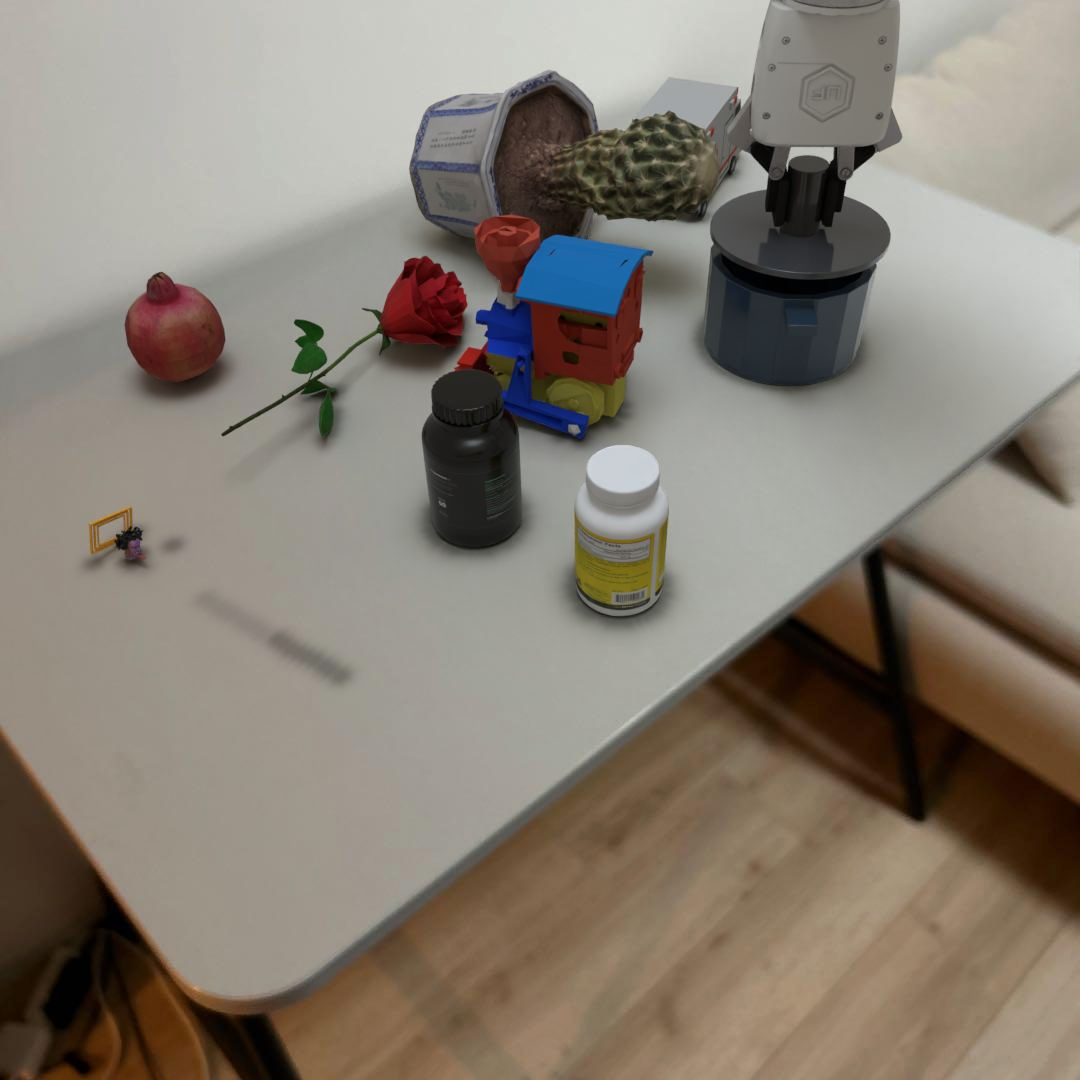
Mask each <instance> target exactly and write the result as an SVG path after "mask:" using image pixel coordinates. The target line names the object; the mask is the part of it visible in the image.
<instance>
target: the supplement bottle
mask: <svg viewBox="0 0 1080 1080" xmlns="http://www.w3.org/2000/svg"><path fill="white" fill-rule="evenodd" d="M430 390H431V391H430V394H431V395H430V396H431V397H430V399H431V413H430V414H429V415H428V416H427V418H426V420H425V422H424V424H423V426H422V429H421V446H422V447H421V448H422V454H423V462H424V470H425V479H426V487H427V494H428V501H429V509H430V517H431V520H432V524H433V527H434V528H435V530H436V532H437V533H438V534H439V535H440V536H441V537H442V538H444V539H445V540H447V541H449V542H450V543H453V544H455V545H457V546H462V547H467V548H483V547H488V546H492V545H495V544H498V543H500V542H502V541H504V540H505V539H507V538H509V537H510V536H511V535H513V534H514V532H515V531H516V530H517V528H518V527H519V526H520V523H521V522H522V517H523V491H522V490H523V489H522V488H523V487H522V471H521V470H522V469H521V451H520V450H521V448H520V447H521V444H520V431H519V425H518V422H517V420H516V418H515V417H514V414H513V413H510V412H509V411H508V410H507V409H506V408H505V407H504V400H503V397H502V387H501V384H500V381H499V380H497V378H496V377H494V376H493V374H489V373H488V372H484V371H482V370H477V369H461V370H455V369H454V370H452V371H449V372H447V373H444V374H443V375H442V376H440V377H438V379H437V380H435V381H434V384H432V388H431V389H430Z"/></svg>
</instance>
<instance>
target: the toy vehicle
mask: <svg viewBox="0 0 1080 1080" xmlns="http://www.w3.org/2000/svg"><path fill="white" fill-rule="evenodd" d="M738 95H739V86H733V85H727V84H720V83H713V82H705V81H699V80H692V79H685V78H678V77H672V76H668V78H667V79H666V80H665V81H664V82H663V84H662V85H660V87H659V88H658V89H657V90H656V91H655V92H654V93H653V95H652V96H651V97H650V98H649V99H648V100H647V102H646V103H645V104H644V105H643V106H642V107H641V108H640V110H639V111H638V112H637V113H636V114H635V115H634V117H633V118H632V119H631V123H632V122H633V121H634V120H635V119H639V120H641V119H642V118H644V117H647V116H650V117H653V115H654V114H655V113H656V114H660V115H664V114H665V113H666V112H668V111H672V112H674V113H675V114H676V116H677V117H679V118H680V119H683V120H686V121H688V122H690V123H692V124H694V125H696V126H698V127H701V128H704V129H705V130H706V134H707V138H708V140H709V141H714V142H715V143H716V144H715V146H717V158H718V160H719V162H720V169H719V177H718V183H717V184H716V186H715V188H714V189H713V192H712V194H713V193H714V192H715V191H716V189H717V187H718V186H719V184H720V183H721V181H722V180H723V179H724V177H725V176H726V175H730V176H732V175H733V174H734V172H735V168H736V164H737V158H738V156H740V154H741V152H742V151H743V150H741V149H740V148H738V147H736V146H734V145H733V144H731V143H730V142H729V141H728V138H727V129H728V127H729V126H730V124H731V123H732V121H733V120H734V118H735V117H736V115H737V114H738V112H739V111H740V109H741V108H742V98H738ZM708 201H709V199H708V200H706V201H705V202H703V203H702V204H701V205H700V206H699V207H698V209H697V211H696V212H695V213H691V212H689V211H684V212H683V213H682V214H687V215H692V216H696V217H697V218H699V219H704V217H705V215H706V213H707V209H708Z"/></svg>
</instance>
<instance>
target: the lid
mask: <svg viewBox="0 0 1080 1080" xmlns="http://www.w3.org/2000/svg"><path fill="white" fill-rule="evenodd" d="M829 167H830V161H828V160H827V159H826V158H823V157H821V156H819V155H810V154H803V155H797V156H793V157H792V158H791V159H790V160H788V162H787V175H788V178H789V190H788V197H787V204H786V212H785V219H784V225H781V227H774V222H773V217H772V212H766V210H765V198H766V190H767V188H765V189H761V190H755V191H751V192H747V193H744V194H741V195H739V196H737V197H734V198H732V199H730V200H728V201H726V202H725V203H724V204H722V205H721V206H719V208H718V209H716V211H715V212H714V213H713V215H712V217H711V219H710V223H709V224H710V226H709V235H710V239H711V241H712V244H714V245H715V246H716V248H717V249H718V250H719V251H720V252H721V253H722V254H723V255H724V256H726V257H727V258H728V259H730V260H731V261H733V262H735V263H737V264H739V265H741V266H743V267H745V268H748V269H750V270H753V271H756V272H759V273H763V274H767V275H771V276H776V277H782V278H790V279H805V280H815V279H830V278H837V277H843V276H847V275H851V274H855V273H857V272H860V271H863V270H865V269H867V268H869V267H871V266H873V265H874V264H877V263H879V262H880V261H881V260H882V259H883V258H884V257H885V255H886V254H887V252H888V250H889V247H890V244H891V240H892V239H891V237H892V234H891V229H890V226H889V224H888V222H887V221H886V220H885V218H884V217H883V216H882V215H881V214H880V213H879V212H877V211H876V210H875V209H873V208H872V207H871V206H869V205H867V204H865V203H863V202H861V201H859V200H857V199H854V198H851V197H849V196H846V195H844V199H843V204H842V210H841V212H834V217H833V223H832V227H825V226H824V225H822V222H821V217H822V210H823V204H824V198H825V192H826V186H827V180H828V173H829Z"/></svg>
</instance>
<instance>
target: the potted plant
mask: <svg viewBox="0 0 1080 1080" xmlns="http://www.w3.org/2000/svg"><path fill="white" fill-rule="evenodd" d="M421 117H422V118H421V120H420V123H419V126H418V130H417V132H416V134H415V138H414V139H415V140H414V147H413V150H412V154H411V157H410V161H409V167H408V171H409V177H410V182H411V185H412V187H413V192H414V196H415V200H416V203H417V207H418V209H419V211H420V213H421V215H422V216H423V217H424V219H425V220H426V221H427V222H430V223H431V224H433V225H435V226H437V227H439V228H441V229H443V230H444V231H446V232H448V233H450V234H453V235H455V236H458V237H459V236H460V237H465V238H469V239H473V240H475V232H474V229H475V228H476V227H477V226H478V225H479V224H480V223H481V222H482V221H484V220H486V219H489V218H491V217H494V216H504V215H516V216H520V217H525V218H530V219H533V220H534V221H535V222H536V223H537V224H538V225H539V226H540V245H541V243H542V242H543V240H545V239H547V238H549V237H551V236H553V235H563V236H569V237H575V238H581V239H586V240H587V236H588V234H589V231H590V228H591V225H592V222H593V217H594V214H597V215H598V216H605V217H606V218H605V219H606V220H607V221H613V220H615V221H616V220H624V219H636V220H645V221H647V222H648V223H649V222H656V223H657V221H673V222H674V221H677V220H678V219H679V218H680V216H681V215H683V214H684V213H683V212H684V211H689V212H691V213H695V212H696V211H697V209H698V207H699V206H700V205H701V204H702V203H703V202H705V201H706V200H708V201H709V199H710V198H711V197H712V195H713V193H714V192H713V189H714V188H715V186H716V184H717V183H718V177H719V169H720V162H719V160H718V158H717V146H715V144H716V143H715V142H714V141H709V140H708V138H707V134H706V130H705V129H704V128H701V127H698V126H696V125H694V124H692V123H690V122H688V121H686V120H683V119H680V118H679V117H677V116H676V114H675V113H674V112H672V111H668V112H666V113H665V114H664V115H660V114H656V113H655V114H654V115H653V117H650V116H647V117H644V118H642V119H641V120H639V119H635V120H634V121H633V122H632V121H631V123H630V124H629V126H628V127H627V128H626V129H625V130H622V129H618V128H617V127H615V128H613V129H600V128H599V124H598V119H597V115H596V111H595V106H594V103H593V102H592V100H591V99H590V98H589V97H588V95H586V93H585V92H584V91H583V90H582V89H581V88H580V87H578V86H577V85H576V84H575V83H574V82H573V81H571V80H569V79H568V78H567V77H564V76H562V75H561V74H560V73H558V71H557V70H553V69H546V70H544V71H542V72H540V73H537V74H536V75H533V76H531V77H529V78H527V79H525V80H523V81H518V82H517V83H516V84H514V85H513V86H511V87H509V88H507V89H505V90H504V91H503V92H496V93H464V94H463V93H462V94H456V95H454V96H451V97H448V98H445V99H442V100H440V101H437V102H435V103H433V104H431V105H430V106H428V107H427V109H426V110H425V111H424V112H423V115H422V116H421ZM712 192H713V193H712Z"/></svg>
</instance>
